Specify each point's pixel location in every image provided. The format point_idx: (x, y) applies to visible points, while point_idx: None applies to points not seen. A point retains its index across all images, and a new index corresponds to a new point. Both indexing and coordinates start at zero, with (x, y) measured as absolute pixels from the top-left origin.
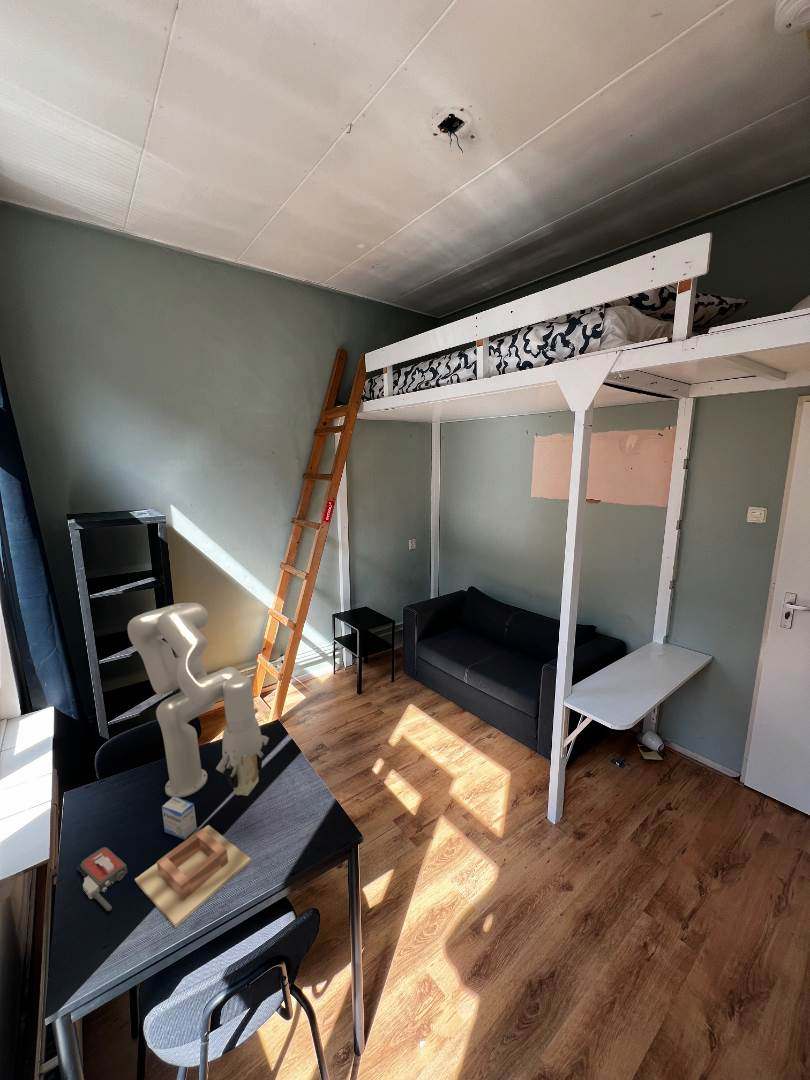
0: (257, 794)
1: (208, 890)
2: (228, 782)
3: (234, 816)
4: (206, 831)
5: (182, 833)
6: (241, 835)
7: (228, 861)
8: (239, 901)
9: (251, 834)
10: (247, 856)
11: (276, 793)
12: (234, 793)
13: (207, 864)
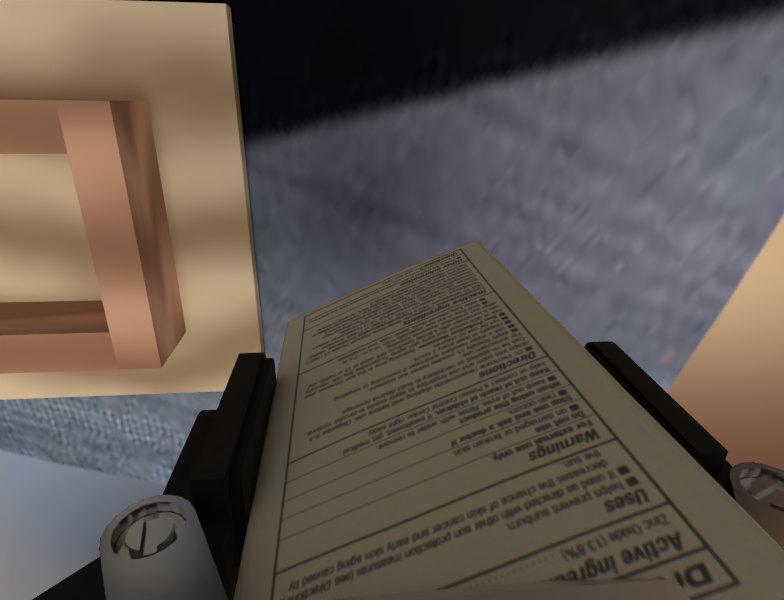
0: (563, 40)
1: (63, 378)
2: (199, 415)
3: (375, 73)
4: (193, 46)
5: None
6: (321, 228)
7: (189, 327)
8: (150, 473)
9: (354, 265)
10: None
11: (614, 143)
12: (287, 327)
13: (45, 370)
